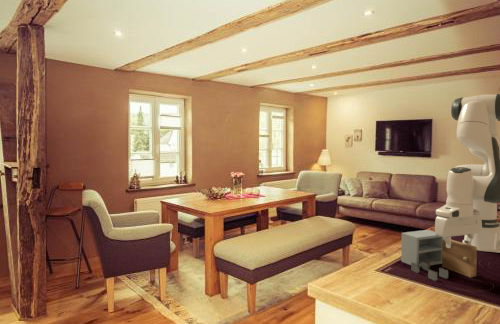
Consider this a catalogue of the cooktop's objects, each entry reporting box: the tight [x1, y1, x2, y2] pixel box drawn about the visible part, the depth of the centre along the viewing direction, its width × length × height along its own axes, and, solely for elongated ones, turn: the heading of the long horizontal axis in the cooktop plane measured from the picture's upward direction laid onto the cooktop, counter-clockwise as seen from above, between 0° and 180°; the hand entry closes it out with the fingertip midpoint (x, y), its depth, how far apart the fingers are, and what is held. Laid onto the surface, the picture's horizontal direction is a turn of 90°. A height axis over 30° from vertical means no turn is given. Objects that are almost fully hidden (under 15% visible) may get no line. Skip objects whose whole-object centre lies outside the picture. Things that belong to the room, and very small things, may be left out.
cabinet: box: [400, 229, 444, 268], centre depth 141 cm, size 14×8×12 cm, turn 109°
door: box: [441, 238, 478, 278], centre depth 130 cm, size 4×12×11 cm, turn 19°
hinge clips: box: [410, 261, 449, 282], centre depth 128 cm, size 6×11×3 cm, turn 19°
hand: (458, 246), depth 130 cm, fingers open, 8 cm apart
